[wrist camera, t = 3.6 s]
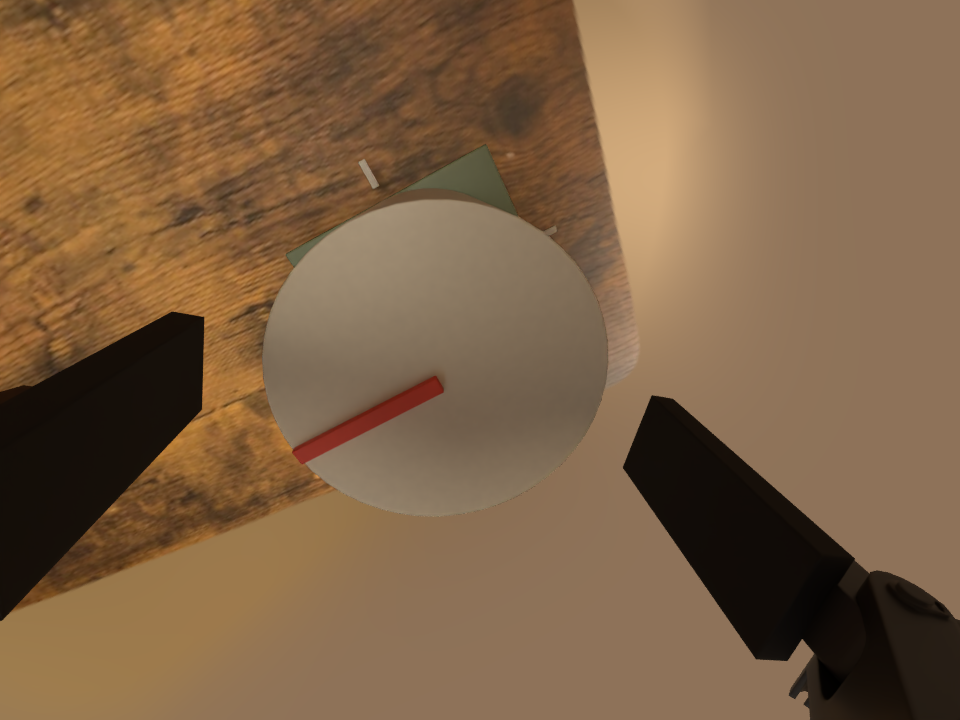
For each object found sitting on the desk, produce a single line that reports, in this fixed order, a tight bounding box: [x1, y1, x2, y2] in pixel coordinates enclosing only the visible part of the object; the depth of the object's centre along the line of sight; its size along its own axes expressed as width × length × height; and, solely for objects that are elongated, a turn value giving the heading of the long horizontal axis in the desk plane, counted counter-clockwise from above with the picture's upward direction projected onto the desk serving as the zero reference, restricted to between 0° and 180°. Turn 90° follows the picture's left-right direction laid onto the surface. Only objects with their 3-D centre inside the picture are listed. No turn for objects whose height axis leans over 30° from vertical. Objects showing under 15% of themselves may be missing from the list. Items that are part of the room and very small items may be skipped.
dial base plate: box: [286, 144, 557, 267], centre depth 27 cm, size 15×15×3 cm
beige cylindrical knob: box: [262, 188, 608, 516], centre depth 20 cm, size 11×11×12 cm
